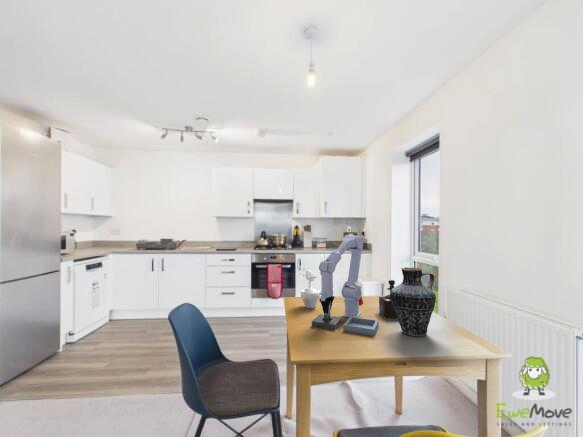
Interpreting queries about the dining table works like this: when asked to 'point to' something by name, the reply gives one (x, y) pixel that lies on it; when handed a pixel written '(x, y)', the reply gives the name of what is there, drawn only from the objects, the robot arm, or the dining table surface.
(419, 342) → the dining table surface
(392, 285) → the dark piece
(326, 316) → the pin
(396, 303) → the jug
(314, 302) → the potted plant
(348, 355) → the dining table surface
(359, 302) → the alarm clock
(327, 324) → the grey square frame
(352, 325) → the tray
